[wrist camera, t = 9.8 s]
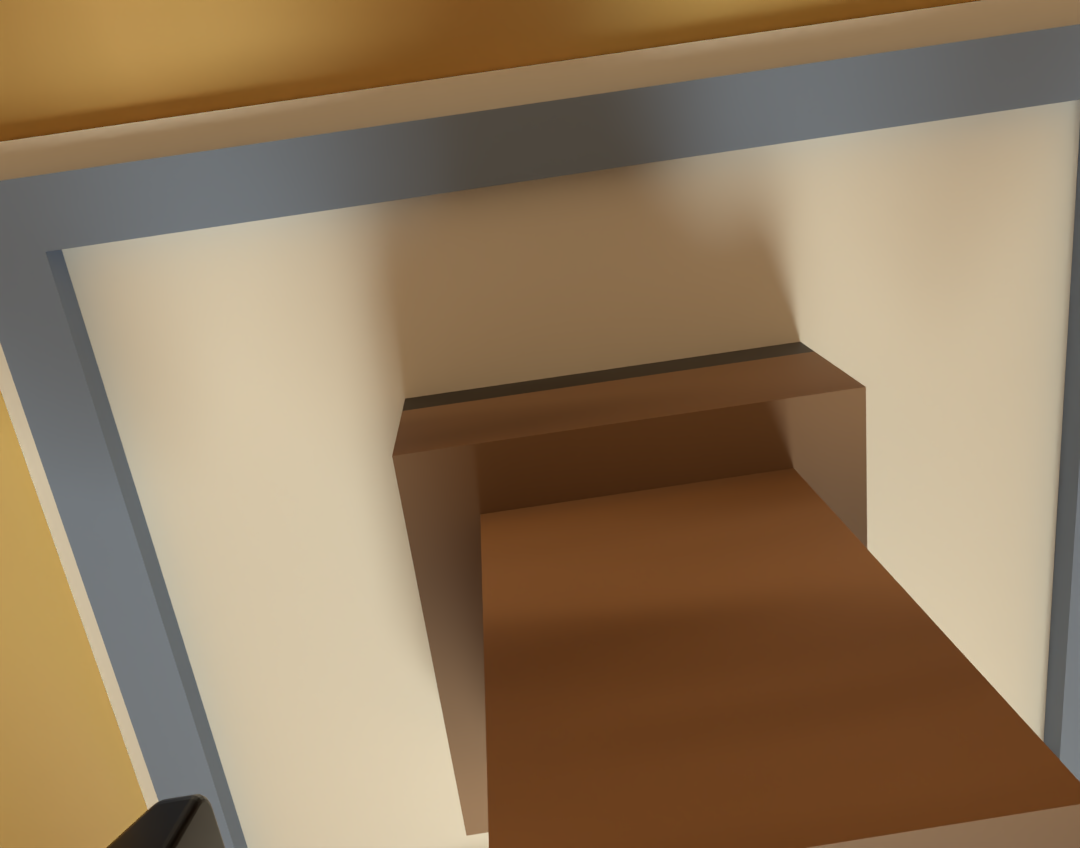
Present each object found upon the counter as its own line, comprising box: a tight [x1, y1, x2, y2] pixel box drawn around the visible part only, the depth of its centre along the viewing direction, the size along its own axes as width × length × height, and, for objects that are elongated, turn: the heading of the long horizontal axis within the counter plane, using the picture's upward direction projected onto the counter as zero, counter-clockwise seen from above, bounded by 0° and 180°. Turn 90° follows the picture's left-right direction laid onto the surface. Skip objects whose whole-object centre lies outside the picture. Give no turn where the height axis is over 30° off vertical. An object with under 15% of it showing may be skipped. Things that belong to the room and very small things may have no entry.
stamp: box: [392, 342, 1080, 848], centre depth 9 cm, size 5×5×7 cm
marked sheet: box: [0, 0, 1080, 848], centre depth 12 cm, size 12×14×1 cm
